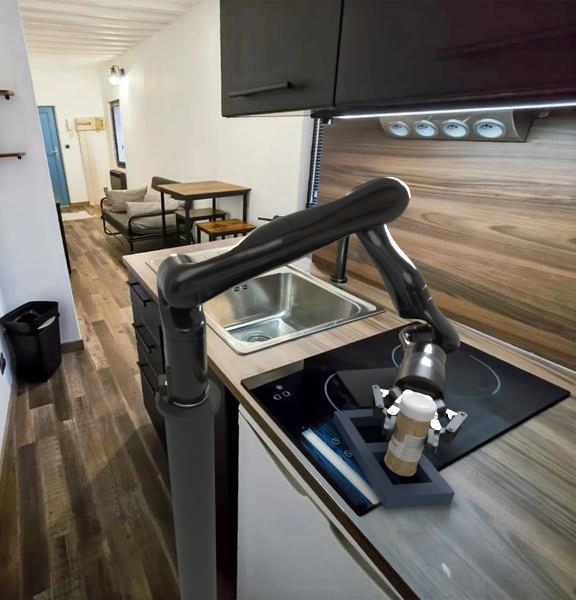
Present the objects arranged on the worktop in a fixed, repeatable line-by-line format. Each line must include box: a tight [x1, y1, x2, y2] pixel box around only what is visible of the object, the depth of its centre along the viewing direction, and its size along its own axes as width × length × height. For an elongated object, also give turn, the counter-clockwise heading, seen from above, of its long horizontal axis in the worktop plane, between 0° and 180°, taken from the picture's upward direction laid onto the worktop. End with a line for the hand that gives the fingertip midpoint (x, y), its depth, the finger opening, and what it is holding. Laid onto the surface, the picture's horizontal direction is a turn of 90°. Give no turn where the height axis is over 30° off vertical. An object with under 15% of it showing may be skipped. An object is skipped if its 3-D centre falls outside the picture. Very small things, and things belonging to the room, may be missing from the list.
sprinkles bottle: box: [384, 392, 437, 477], centre depth 56 cm, size 5×5×14 cm
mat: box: [335, 367, 398, 409], centre depth 80 cm, size 14×12×1 cm
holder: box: [332, 407, 456, 509], centre depth 63 cm, size 10×18×2 cm, turn 2°
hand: (408, 443), depth 54 cm, fingers closed on sprinkles bottle, 4 cm apart
